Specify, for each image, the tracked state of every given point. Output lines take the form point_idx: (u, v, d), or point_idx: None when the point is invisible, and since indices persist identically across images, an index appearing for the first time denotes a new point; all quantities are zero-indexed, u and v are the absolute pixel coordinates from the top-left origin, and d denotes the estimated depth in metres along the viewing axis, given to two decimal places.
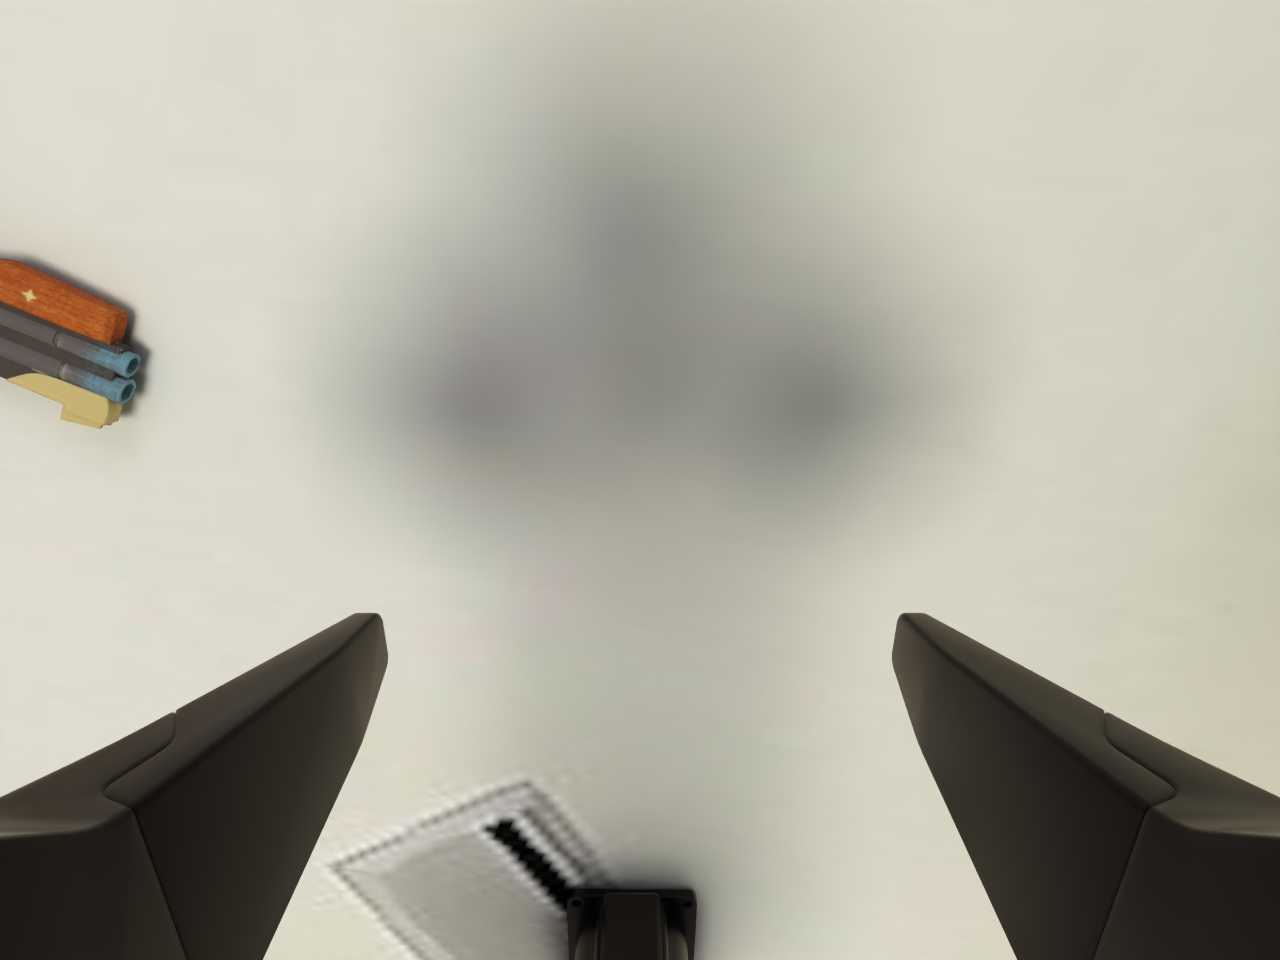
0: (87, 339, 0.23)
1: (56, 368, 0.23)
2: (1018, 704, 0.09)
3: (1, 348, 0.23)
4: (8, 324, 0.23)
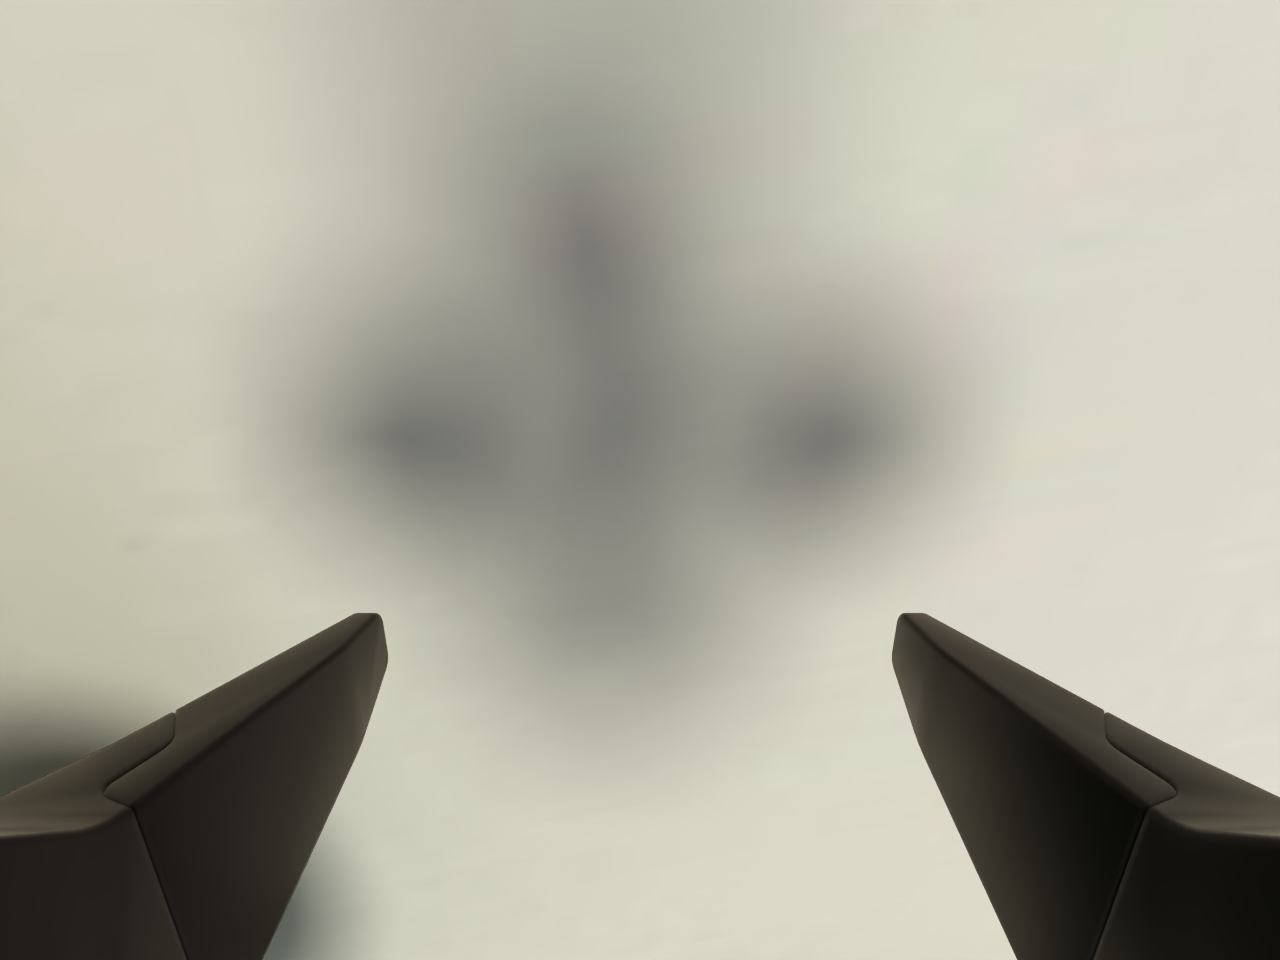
0: None
1: None
2: (1018, 704, 0.09)
3: None
4: None
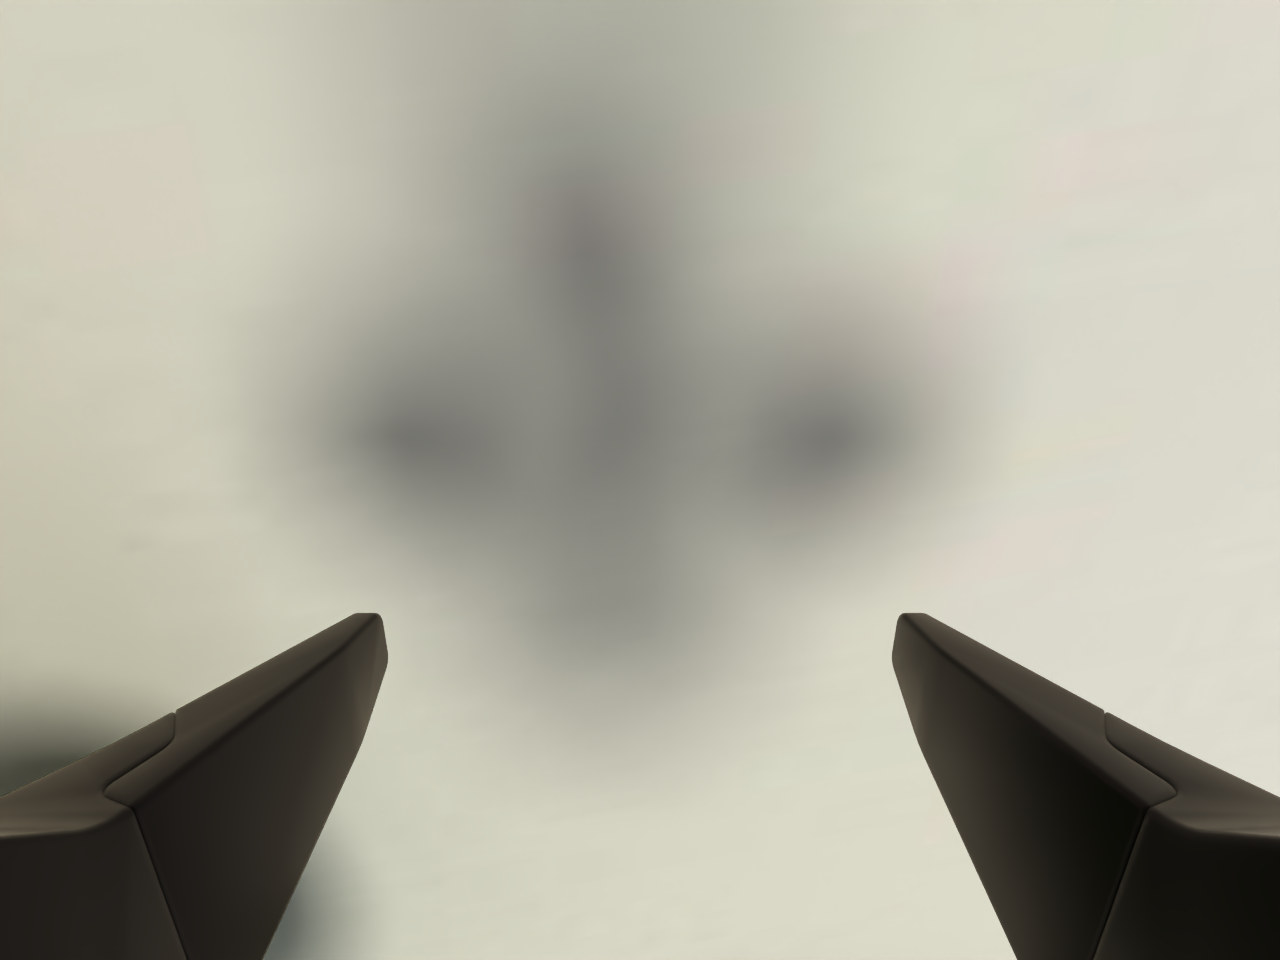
0: None
1: None
2: (1018, 704, 0.09)
3: None
4: None
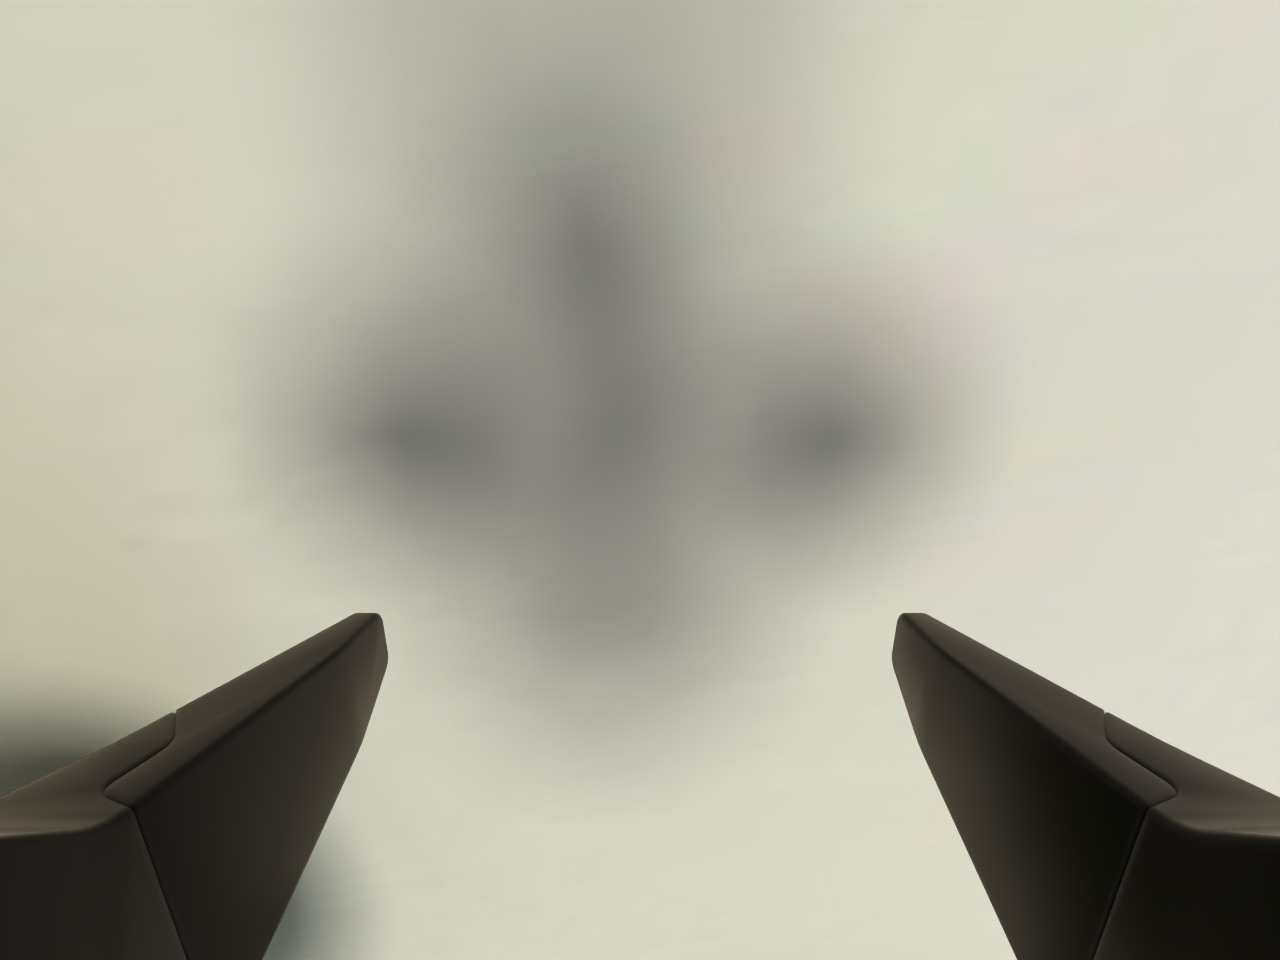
0: None
1: None
2: (1018, 704, 0.09)
3: None
4: None
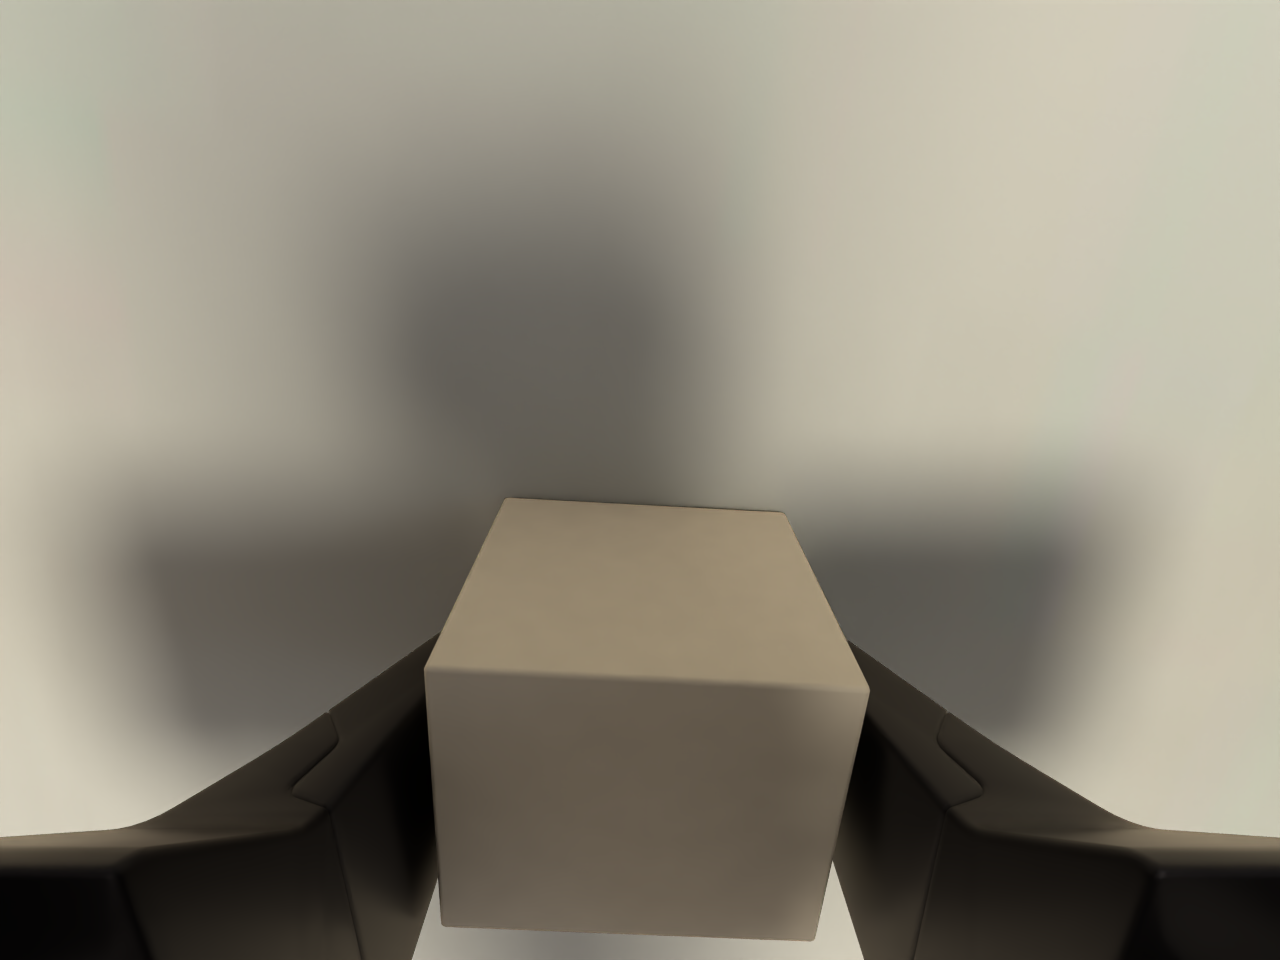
0: None
1: None
2: None
3: None
4: None
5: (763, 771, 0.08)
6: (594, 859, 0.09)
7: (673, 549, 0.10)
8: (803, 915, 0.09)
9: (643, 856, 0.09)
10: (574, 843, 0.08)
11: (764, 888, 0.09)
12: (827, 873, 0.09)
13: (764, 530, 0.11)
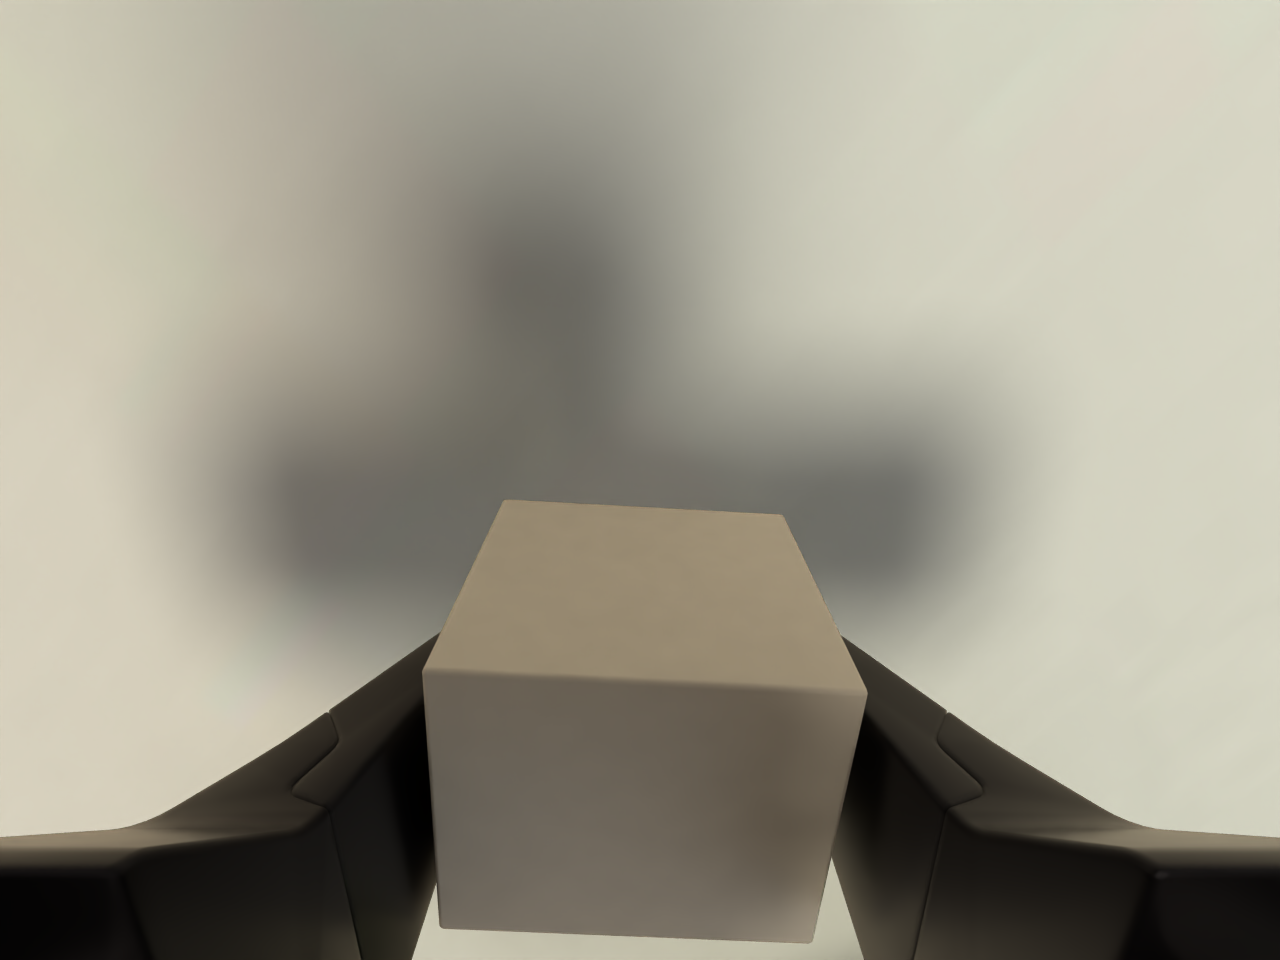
0: None
1: None
2: None
3: None
4: None
5: (761, 774, 0.08)
6: (592, 861, 0.09)
7: (671, 552, 0.10)
8: (801, 917, 0.09)
9: (641, 858, 0.09)
10: (573, 845, 0.08)
11: (762, 890, 0.09)
12: (825, 875, 0.09)
13: (763, 531, 0.11)
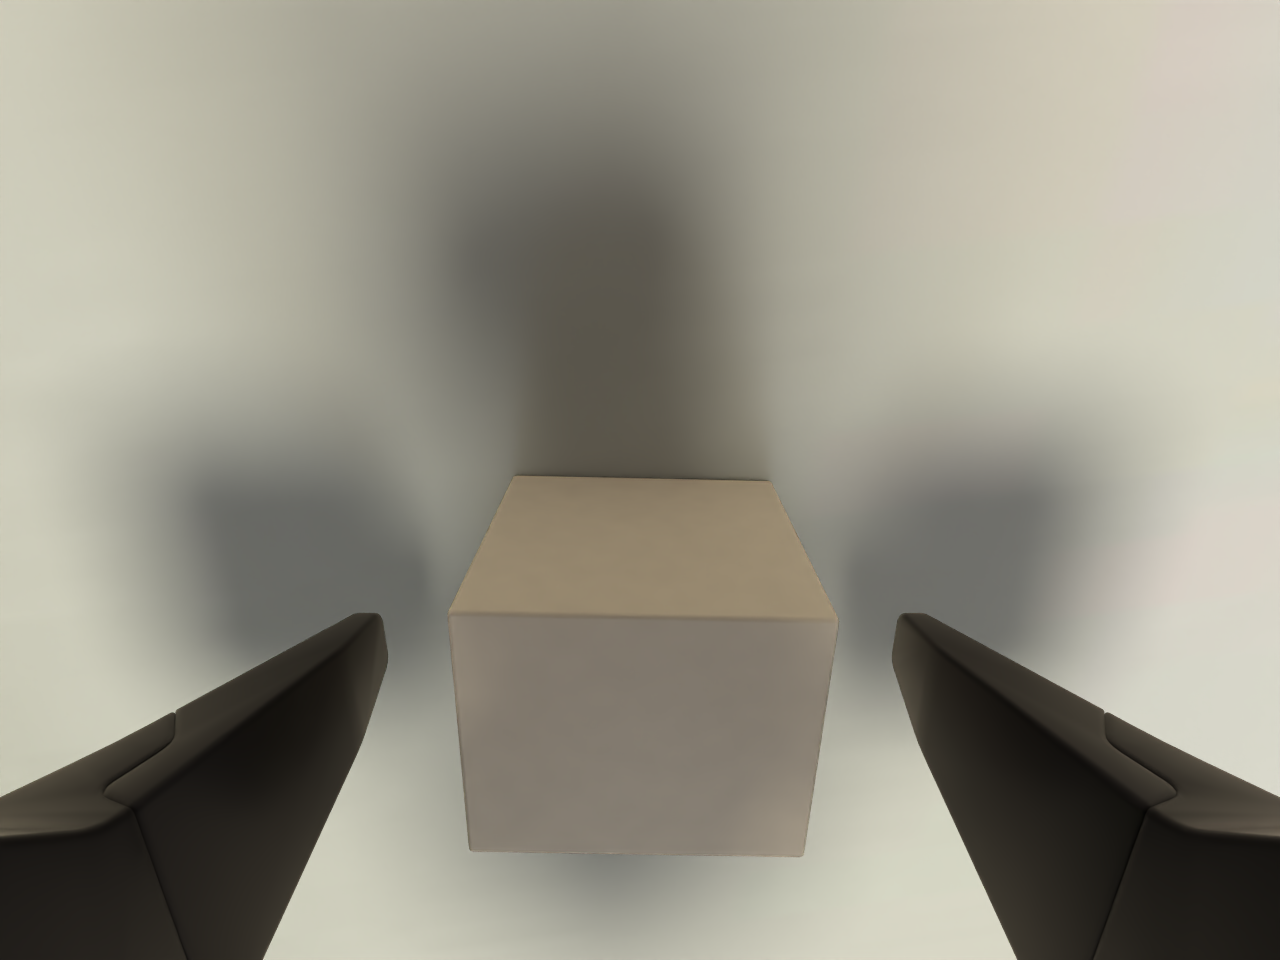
0: None
1: None
2: (1018, 704, 0.09)
3: None
4: None
5: (748, 697, 0.09)
6: (602, 784, 0.10)
7: (667, 514, 0.12)
8: (791, 832, 0.10)
9: (646, 780, 0.10)
10: (585, 769, 0.10)
11: (755, 807, 0.10)
12: (810, 792, 0.10)
13: (751, 495, 0.12)
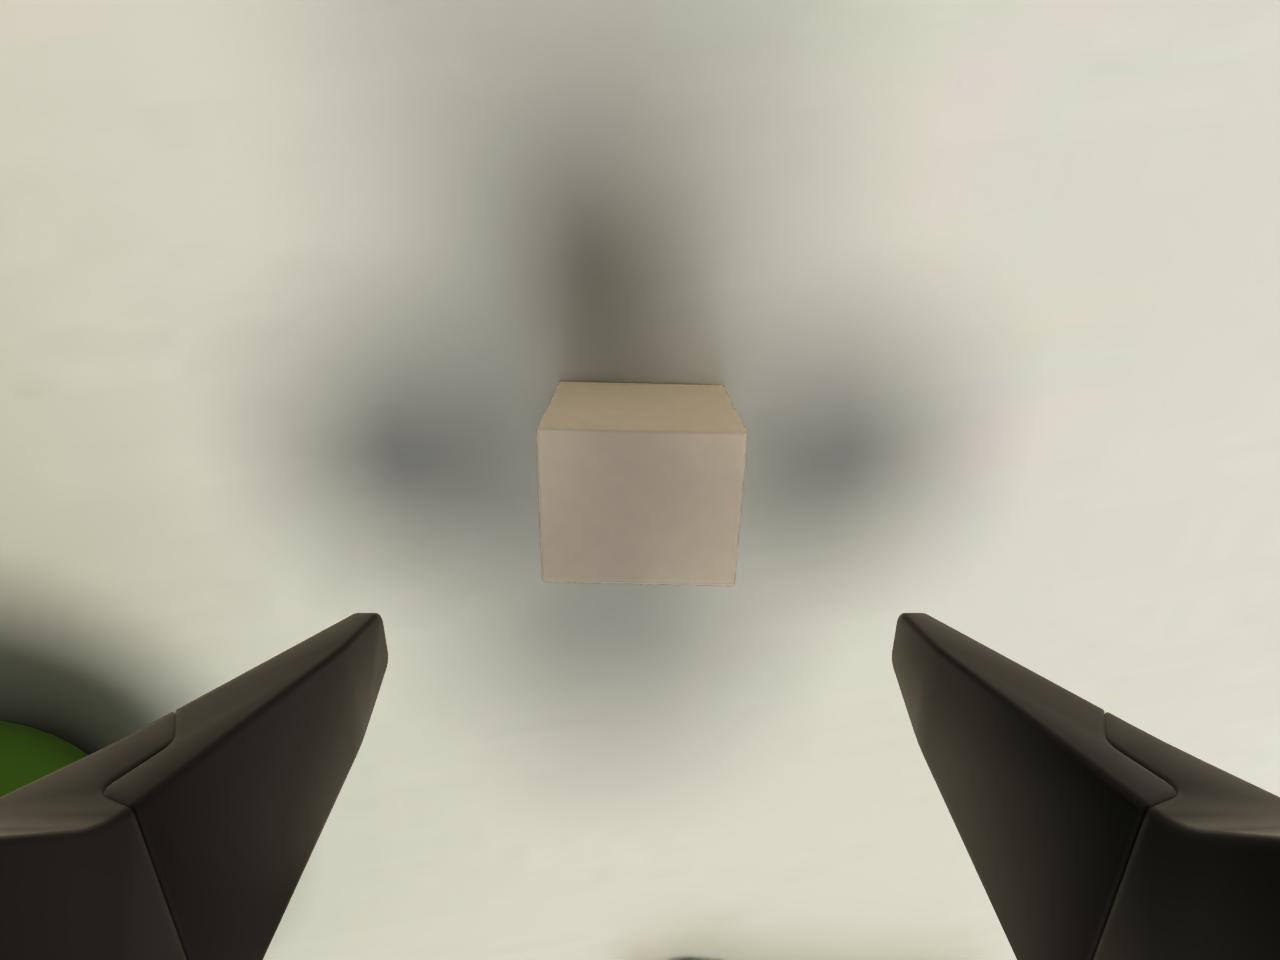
0: None
1: None
2: (1018, 704, 0.09)
3: None
4: None
5: (699, 480, 0.17)
6: (619, 536, 0.17)
7: (656, 397, 0.19)
8: (726, 568, 0.17)
9: (643, 533, 0.17)
10: (609, 526, 0.17)
11: (705, 551, 0.17)
12: (736, 541, 0.17)
13: (709, 391, 0.20)
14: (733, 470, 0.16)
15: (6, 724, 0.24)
